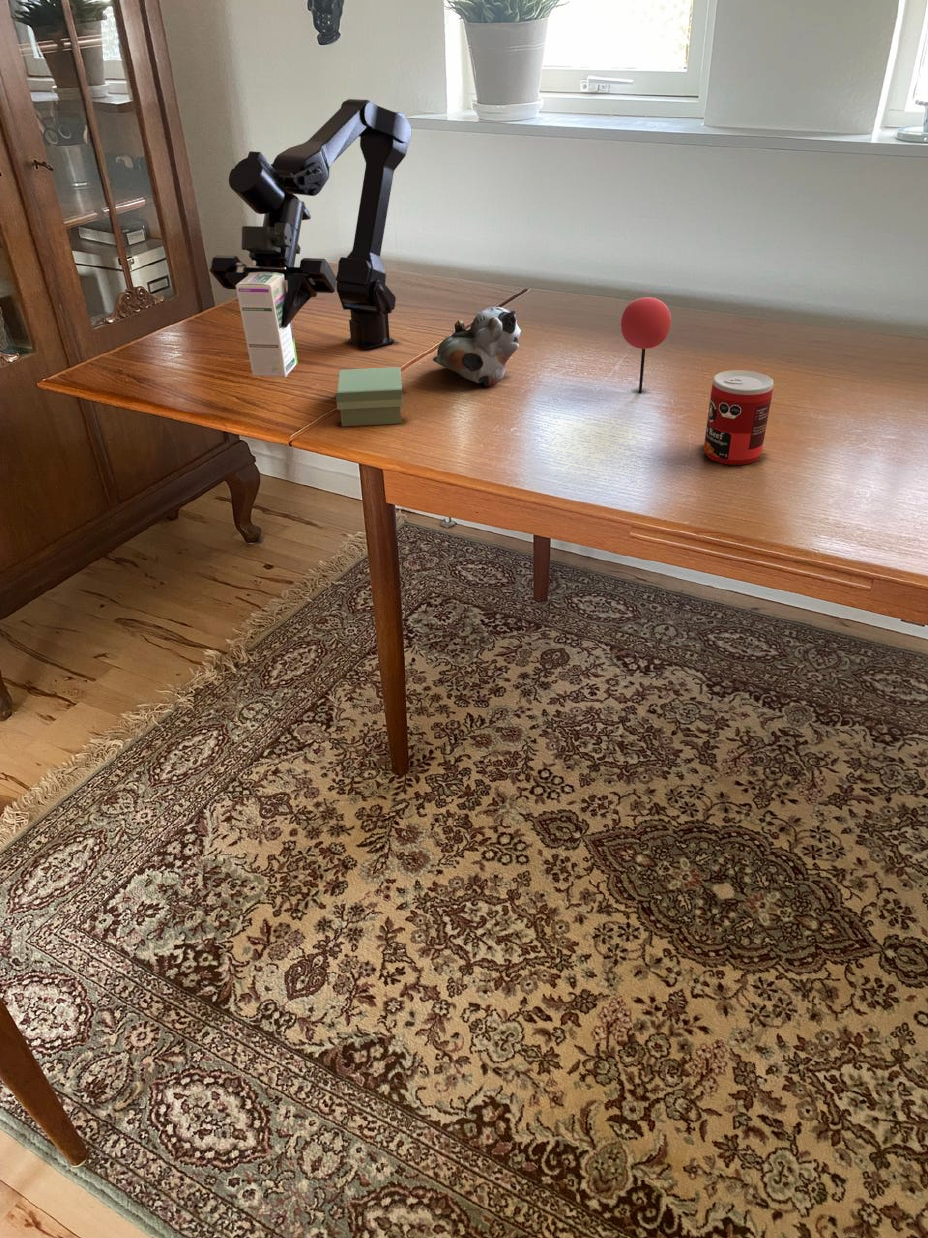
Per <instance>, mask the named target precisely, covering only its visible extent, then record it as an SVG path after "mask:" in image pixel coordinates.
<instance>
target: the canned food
mask: <svg viewBox="0 0 928 1238" xmlns="http://www.w3.org/2000/svg"><path fill="white" fill-rule="evenodd" d="M774 383H775V381H774V380H773V378H771V377H770V376H769V375H766V374H764V373H761V372H758V371H752V370H746V369H745V370H744V369H732V370H725V371H721V372H719V373H717V374H715V375H714V376H713V380H712V383H711V391H710V396H709V397H710V398H709V405H708V411H707V412H708V414H707V420H706V427H705V436H704V443H703V449H704V454H705V456H706V457H708V458H709V459H710V460H711V461H714V462H716V463H719V464H723V465H730V466H743V465H749V464H752V463H754V462H756V461H757V460H759V458H760V456H761V454H762V452H763V446H764V441H765V435H766V431H767V425H768V421H769V414H770V409H771V403H772V397H773V391H774Z"/></svg>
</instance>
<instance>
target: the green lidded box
mask: <svg viewBox="0 0 928 1238" xmlns="http://www.w3.org/2000/svg"><path fill="white" fill-rule="evenodd" d="M337 379H338V380H337V381H338V382H337V391H335V400H336V401H335V402H336V410H337V411H339V412H340V413H339V414H340V422H341V427H358V426H359V427H360V426H376V425H377V426H379V425H394V424H395V425H396V424H402V410H401V409H402V408H401V407H404V401H403V399H404V398H403V386H402V384H403V383H402V373H401V366H389V367H371V368H367V367H365V368H350V369H339V370H338V378H337Z"/></svg>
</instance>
